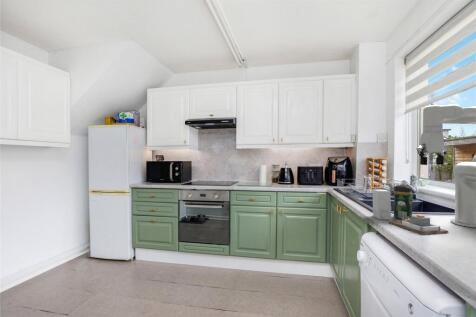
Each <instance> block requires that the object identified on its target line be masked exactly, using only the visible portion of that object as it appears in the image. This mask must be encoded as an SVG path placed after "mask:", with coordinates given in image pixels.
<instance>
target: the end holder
mask: <svg viewBox="0 0 476 317" xmlns="http://www.w3.org/2000/svg"><path fill="white" fill-rule="evenodd" d="M402 225H404V226H407V227H410V228H413V229H416V230H419V231H422V232H423V231H438V230H440V228H441V226H440V225H437V224H433V223H430V226H425V227H421V226H418V225H415V224H411V223H408V222H405V221H402Z"/></svg>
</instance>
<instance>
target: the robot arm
mask: <svg viewBox="0 0 476 317" xmlns="http://www.w3.org/2000/svg"><path fill="white" fill-rule="evenodd" d="M444 124H447V125H448V124H449V125H451V124H457V125H476V106H469V107H462V106H461V105H459V104H455V103H454V104H445V105H439V104H433V105H426V106H425V107H423V109H422V133H421V135H420V139H419V146H418V147H416V151H417V154H418V157H419V159H420V160H419V165H421V166H427V165H428V155H429V154H435V155H436V159H435V164H436V166H437V165H438V166H444V165H445V164H444V163H445V162H444V161H445V157H446V155H447V152H448V147H447V146H445V139H444V134H443V128H444V127H443V125H444ZM452 175H453V178H454V188H455V189H454V190H455V193H454V218H452V219H450V223H452V224H454V225H457V226H462V227H467V228H473V229H474V228H475V229H476V155H474V156H473V158H472V159H471V161H470V162H469V161H465V162H464V161H463V162H459V163H457V164H455V165H454V167H453V169H452Z"/></svg>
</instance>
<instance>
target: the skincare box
mask: <svg viewBox="0 0 476 317" xmlns="http://www.w3.org/2000/svg"><path fill="white" fill-rule="evenodd" d="M391 198H392V196H391V191H390V190H386V189H372V216H373V217H375V219H378V220H383V221H384V220H388V221H392V214H391V213H392V211H391V210H392V208H391V206H392V205H391V204H392V203H391V201H392V200H391Z"/></svg>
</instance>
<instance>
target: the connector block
mask: <svg viewBox="0 0 476 317" xmlns="http://www.w3.org/2000/svg"><path fill="white" fill-rule="evenodd" d="M411 224H415V225H418V226H421V227H425V226H430V224H431V217H428V216H425V215H423V214H416V215H414V216H411Z"/></svg>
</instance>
